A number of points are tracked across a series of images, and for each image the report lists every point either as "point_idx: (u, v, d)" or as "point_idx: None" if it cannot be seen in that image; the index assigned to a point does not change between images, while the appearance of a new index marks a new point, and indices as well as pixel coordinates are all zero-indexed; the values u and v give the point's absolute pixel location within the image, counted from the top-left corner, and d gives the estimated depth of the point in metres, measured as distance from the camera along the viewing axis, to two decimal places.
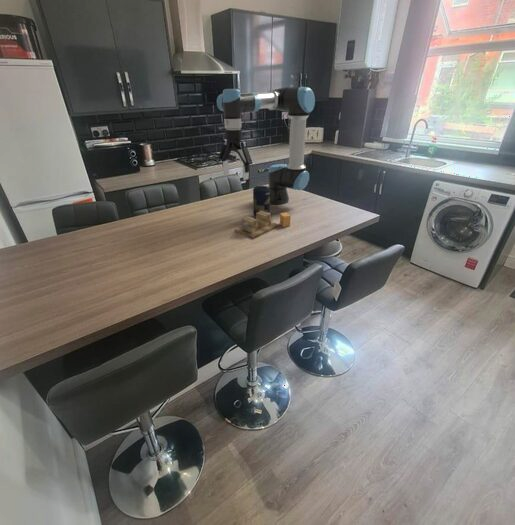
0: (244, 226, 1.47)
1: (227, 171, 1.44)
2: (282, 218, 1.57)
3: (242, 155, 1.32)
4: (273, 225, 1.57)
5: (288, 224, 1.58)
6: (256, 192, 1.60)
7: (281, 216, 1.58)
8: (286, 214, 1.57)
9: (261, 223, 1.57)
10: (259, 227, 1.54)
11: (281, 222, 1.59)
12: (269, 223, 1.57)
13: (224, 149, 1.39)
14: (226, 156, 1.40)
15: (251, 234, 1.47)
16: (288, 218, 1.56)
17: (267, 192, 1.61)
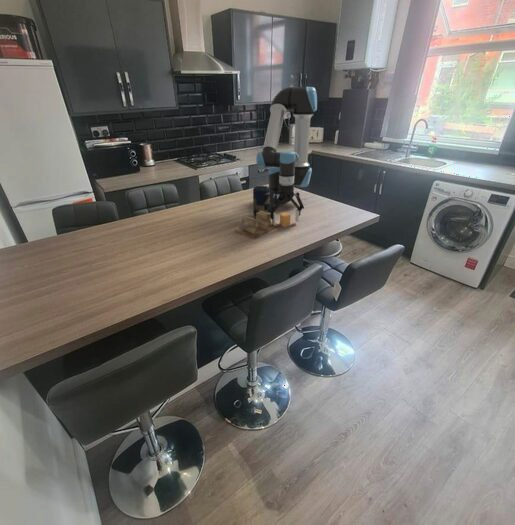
0: (244, 226, 1.47)
1: None
2: (282, 218, 1.57)
3: (296, 203, 1.55)
4: (273, 225, 1.57)
5: (288, 224, 1.58)
6: (256, 192, 1.60)
7: (281, 216, 1.58)
8: (286, 214, 1.57)
9: (261, 223, 1.57)
10: (259, 227, 1.54)
11: (281, 222, 1.59)
12: (269, 223, 1.57)
13: None
14: None
15: (251, 234, 1.47)
16: (288, 218, 1.56)
17: (267, 192, 1.61)
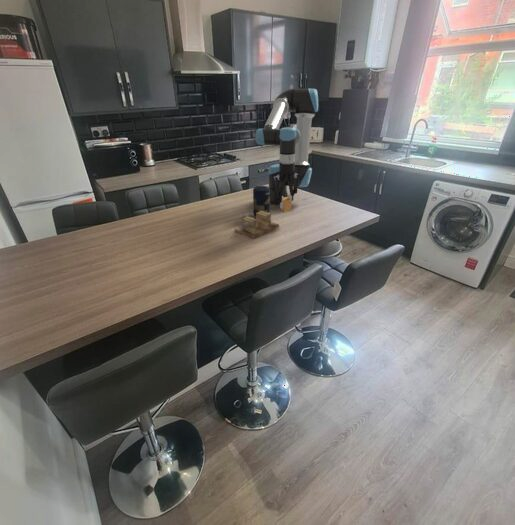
0: (244, 226, 1.47)
1: None
2: (283, 202, 1.53)
3: None
4: (273, 225, 1.57)
5: (289, 209, 1.54)
6: (256, 192, 1.60)
7: None
8: (287, 198, 1.53)
9: (261, 223, 1.57)
10: (259, 227, 1.54)
11: None
12: (269, 223, 1.57)
13: None
14: None
15: (251, 234, 1.47)
16: (289, 203, 1.52)
17: (267, 192, 1.61)
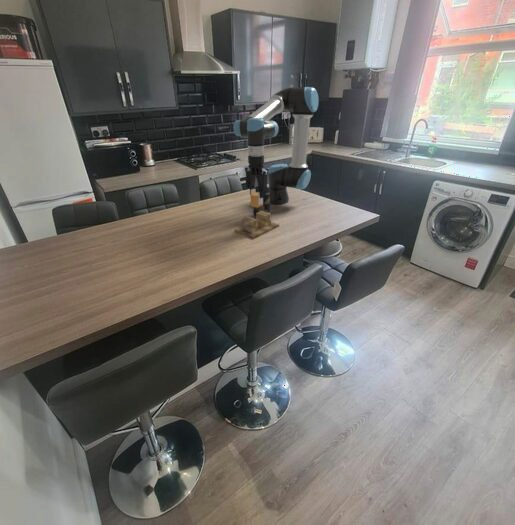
0: (244, 226, 1.47)
1: None
2: None
3: (260, 182, 1.41)
4: (273, 225, 1.57)
5: (255, 205, 1.47)
6: None
7: None
8: (257, 194, 1.46)
9: (261, 223, 1.57)
10: (259, 227, 1.54)
11: None
12: (269, 223, 1.57)
13: (249, 176, 1.45)
14: (252, 183, 1.45)
15: (251, 234, 1.47)
16: (254, 198, 1.45)
17: (267, 192, 1.61)
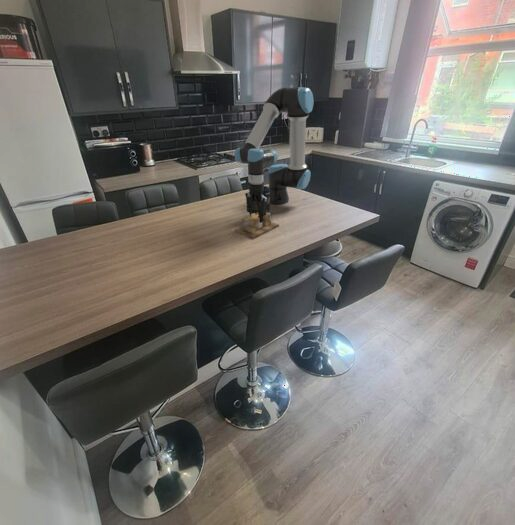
0: (244, 226, 1.47)
1: None
2: None
3: (260, 207, 1.47)
4: (273, 225, 1.57)
5: None
6: None
7: None
8: (257, 216, 1.52)
9: None
10: None
11: None
12: (269, 223, 1.57)
13: (249, 201, 1.51)
14: (253, 208, 1.51)
15: (251, 234, 1.47)
16: None
17: (267, 192, 1.61)
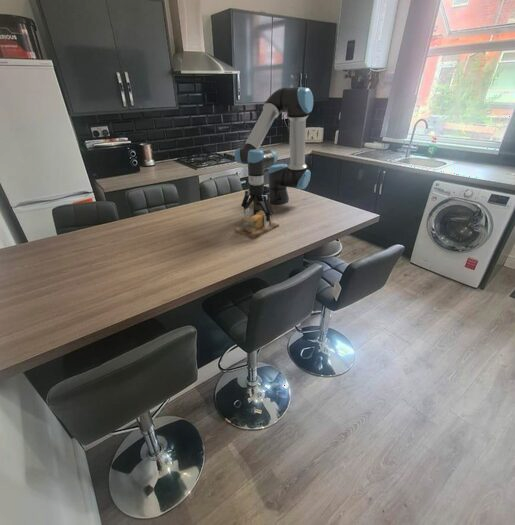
0: (244, 226, 1.47)
1: None
2: None
3: (264, 206, 1.45)
4: (273, 225, 1.57)
5: None
6: None
7: None
8: (257, 216, 1.52)
9: None
10: None
11: None
12: (269, 223, 1.57)
13: (247, 198, 1.52)
14: (248, 205, 1.53)
15: (251, 234, 1.47)
16: None
17: (267, 192, 1.61)
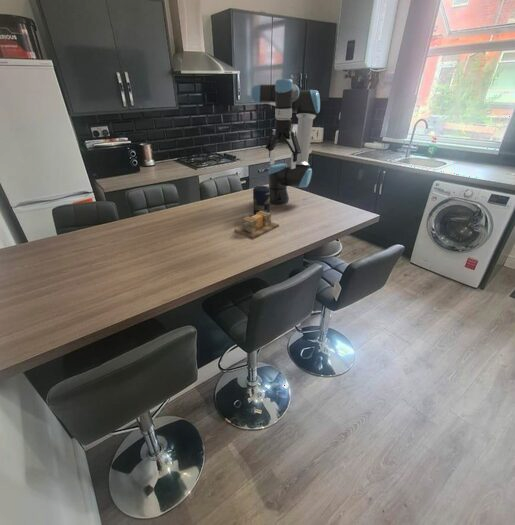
0: (244, 226, 1.47)
1: (273, 160, 1.48)
2: None
3: (291, 144, 1.35)
4: (273, 225, 1.57)
5: None
6: (256, 192, 1.60)
7: None
8: (257, 216, 1.52)
9: None
10: None
11: None
12: (269, 223, 1.57)
13: (272, 139, 1.42)
14: (273, 146, 1.43)
15: (251, 234, 1.47)
16: None
17: (267, 192, 1.61)
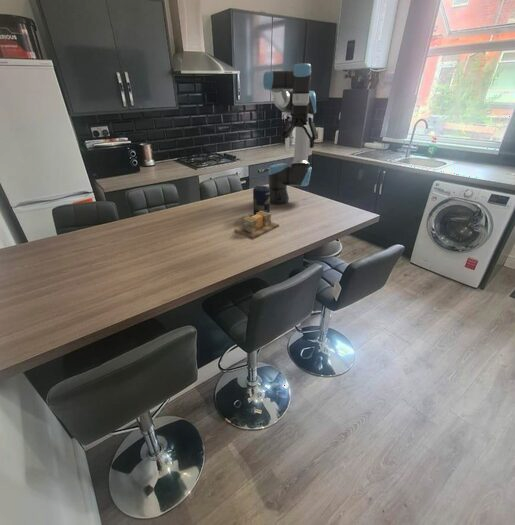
0: (244, 226, 1.47)
1: (288, 148, 1.47)
2: None
3: (308, 130, 1.35)
4: (273, 225, 1.57)
5: None
6: (256, 192, 1.60)
7: None
8: (257, 216, 1.52)
9: None
10: None
11: None
12: (269, 223, 1.57)
13: (287, 126, 1.42)
14: (289, 133, 1.42)
15: (251, 234, 1.47)
16: None
17: (267, 192, 1.61)
